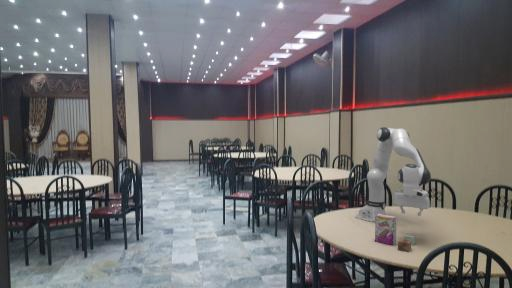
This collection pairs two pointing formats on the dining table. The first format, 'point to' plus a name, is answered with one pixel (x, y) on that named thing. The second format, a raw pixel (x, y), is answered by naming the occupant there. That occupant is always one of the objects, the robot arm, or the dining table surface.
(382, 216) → the candy bar box
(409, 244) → the walnut block
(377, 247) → the dining table surface
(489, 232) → the dining table surface
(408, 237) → the sage cube
